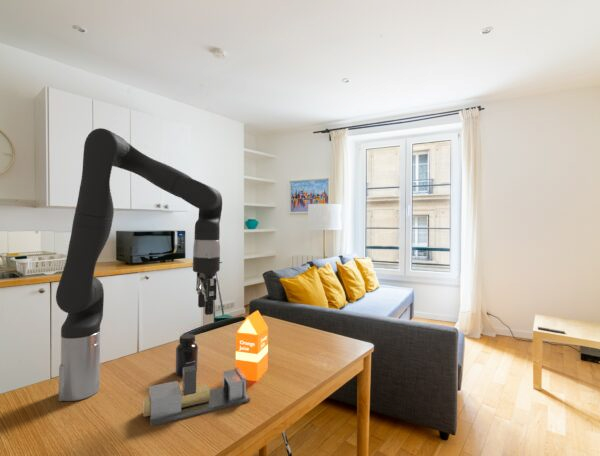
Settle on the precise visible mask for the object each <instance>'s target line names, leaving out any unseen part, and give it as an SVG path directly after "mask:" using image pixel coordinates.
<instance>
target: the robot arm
mask: <svg viewBox="0 0 600 456" xmlns="http://www.w3.org/2000/svg"><path fill="white" fill-rule="evenodd" d="M82 154H83V156H82V157H83V158H82V170H81V171H82V172H81V179H80V184H79V191H78V197H77V201H76V202H77V203H76V206H75V210H74V214H73V220H72V226H71V233H70V237H69V238H70V239H69V242H68V249H67V253H66V254H67V255H66V259H65V263H64V267H63V270H62V273H61V275H60V279H59V281H58V285H57V289H56V293H55V302H56V304H57V307H58V308H59V309H60V310H61V311H62V312H64V313H66V315H67V316H66V318H65V320H64V322H63V324H62V325H61V328H60V364H59V366H58V402H63V401H65V402H75V401H80V400H86V399H88V398H90V397H91V396H94V395H95V394H96V393H99V390H100V385H101V384H100V377H101V376H100V375H101V374H100V373H101V371H100V368H101V366H100V365H101V364H100V363H101V362H100V361H101V355H100V354H101V347H100V346H101V323H102V320H103V316H104V301H105V300H104V296H105V293H104V292H105V291H104V286H103V284H102V282H101V281H100V279H98V278H97V277H95V276H94V275H95V269H96V265H97V262H98V259H99V257H100V256H101V253H102V252H103V249H104V248H105V246H106V244H107V241H108V239H109V237H110V234H111V231H112V226H113V225H112V224H113V221H114V220H113V219H114V213H115V212H114V203H113V196H112V193H111V185H110V181H111V175H112V170H113V167H114V168H118V169H121V170H124V171H125V170H126V171H128V172H131V173H133V174H135V175H138V176H139V177H141V178H144V179H145V180H146V181H148V182H150V184H153V185H154V186H156V187H158V188H160V189H161V190H162V191H165V192H167V193H169V194H171V195H173V196H174V197H178V198H179V199H182V200H183V201H185V202H187V203H188V204H190V205H192V206H193V207H195V208H196V209H198V219H197V220H196V222H195V224H194V239H193V240H194V241H193V249H192V272H194V273H196V286H195V287H196V288H195V290H196V292H197V293H196V294H197V295H198V296H197V299H198V300H197V307H198V308H204V314H205V315H206V316H209V315H214V301H216V300H217V299H218V298H217V282H218V281H217V280H218V279H217V278H216V277H214V273H218V272H219V271H220V268H221V267H220V266H221V265H220V264H221V245H220V244H221V243H220V235H221V234H220V233H221V232H220V230H221V229H220V222H221V217H222V209H223V198H222V197H223V196H222V194H221V192H220V191H219V190H217V189H216V188H214V187H211V186H210V185H207V184H205V183H203V182H202V181H199V180H196V179H194V178H192V177H191V176H190V175H189V174H186V173H185V172H184V171H181V170H178V169H177V168H175V167H173V166H170V165H168V164H165V163H164V162H161V161H159V160H156V159H153V158H151V157H150V156H148V155H146V154H145V153H143V152H141V151H139V150H138V149H136V148H135V147H134V146H133V145H132V144H130V143H129V142H128V141H127V140H125V138H123V137H121V135H118V134H116V133H114V132H112V130H111V131H110V130H109V129H107V128H103V127H102V128H101V127H98V128H95V129H93V130H91V131H90V133H89V134H88V135H87V136H86V138H85V141H84V145H83V153H82Z"/></svg>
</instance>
